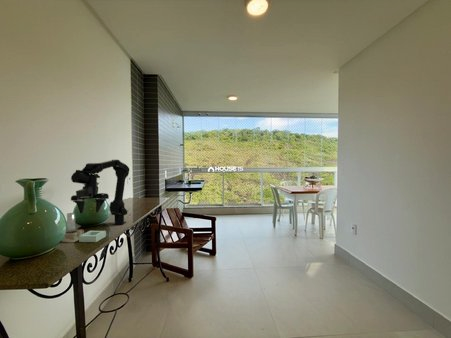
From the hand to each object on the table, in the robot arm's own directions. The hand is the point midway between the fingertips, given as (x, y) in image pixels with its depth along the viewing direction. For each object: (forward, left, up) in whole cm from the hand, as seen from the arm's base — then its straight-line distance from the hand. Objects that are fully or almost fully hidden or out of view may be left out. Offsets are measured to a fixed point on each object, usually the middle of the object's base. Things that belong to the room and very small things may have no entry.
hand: (89, 212), depth 122 cm
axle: (+4, -7, -13) cm, 16 cm away
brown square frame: (+4, -7, -13) cm, 16 cm away
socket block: (+3, +4, -13) cm, 14 cm away
